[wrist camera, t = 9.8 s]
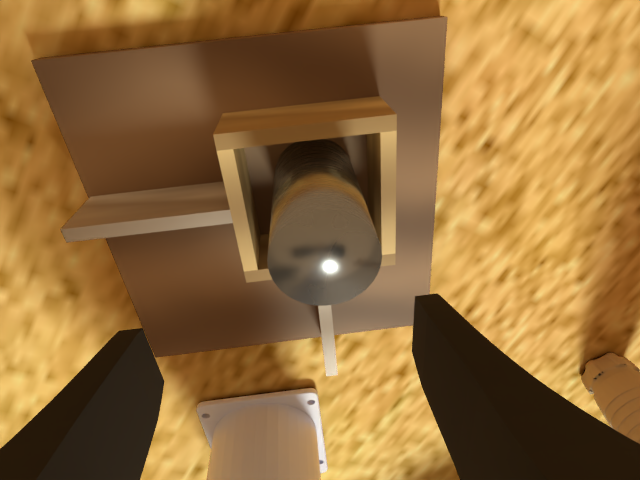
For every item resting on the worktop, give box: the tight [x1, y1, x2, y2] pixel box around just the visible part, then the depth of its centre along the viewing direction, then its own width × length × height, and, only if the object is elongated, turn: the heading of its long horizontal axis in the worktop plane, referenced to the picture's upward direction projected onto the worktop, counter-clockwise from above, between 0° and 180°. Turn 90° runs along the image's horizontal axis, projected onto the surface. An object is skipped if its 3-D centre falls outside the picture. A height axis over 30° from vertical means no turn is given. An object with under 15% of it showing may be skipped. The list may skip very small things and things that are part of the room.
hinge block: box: [31, 16, 447, 376], centre depth 19 cm, size 16×16×4 cm
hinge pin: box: [267, 139, 382, 306], centre depth 16 cm, size 4×4×7 cm
